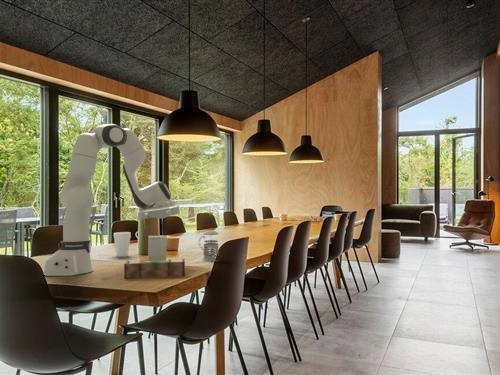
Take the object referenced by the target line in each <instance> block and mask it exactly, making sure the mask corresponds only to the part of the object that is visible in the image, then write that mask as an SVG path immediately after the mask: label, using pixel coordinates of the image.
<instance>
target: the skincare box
mask: <svg viewBox="0 0 500 375" xmlns="http://www.w3.org/2000/svg"><path fill="white" fill-rule="evenodd" d="M147 240H148V241H147V243H148V246H147V248H148V250H147V261H167V235H148V239H147Z"/></svg>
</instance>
